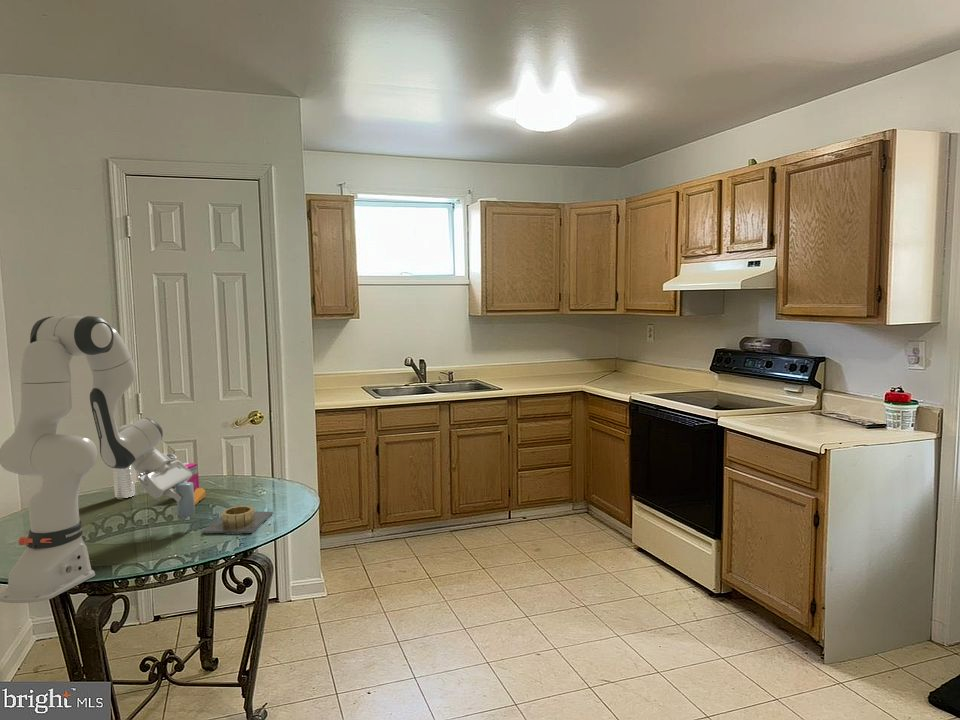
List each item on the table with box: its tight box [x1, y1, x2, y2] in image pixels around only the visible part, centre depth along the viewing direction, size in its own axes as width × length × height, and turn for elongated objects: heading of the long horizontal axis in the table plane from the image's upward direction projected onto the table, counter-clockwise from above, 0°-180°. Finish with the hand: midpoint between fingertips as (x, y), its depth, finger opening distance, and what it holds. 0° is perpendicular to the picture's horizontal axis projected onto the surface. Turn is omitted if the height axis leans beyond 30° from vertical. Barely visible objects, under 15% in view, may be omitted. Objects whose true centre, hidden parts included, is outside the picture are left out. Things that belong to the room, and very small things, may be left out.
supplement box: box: [182, 462, 200, 491], centre depth 249 cm, size 6×6×12 cm
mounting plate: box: [201, 511, 274, 534], centre depth 215 cm, size 18×16×1 cm
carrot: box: [194, 487, 206, 506], centre depth 235 cm, size 20×4×4 cm, turn 7°
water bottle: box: [112, 465, 136, 499], centre depth 247 cm, size 7×7×25 cm
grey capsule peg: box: [175, 482, 196, 518], centre depth 210 cm, size 5×5×10 cm
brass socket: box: [221, 505, 256, 526], centre depth 214 cm, size 10×10×4 cm
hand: (185, 496), depth 210 cm, fingers closed on grey capsule peg, 5 cm apart
